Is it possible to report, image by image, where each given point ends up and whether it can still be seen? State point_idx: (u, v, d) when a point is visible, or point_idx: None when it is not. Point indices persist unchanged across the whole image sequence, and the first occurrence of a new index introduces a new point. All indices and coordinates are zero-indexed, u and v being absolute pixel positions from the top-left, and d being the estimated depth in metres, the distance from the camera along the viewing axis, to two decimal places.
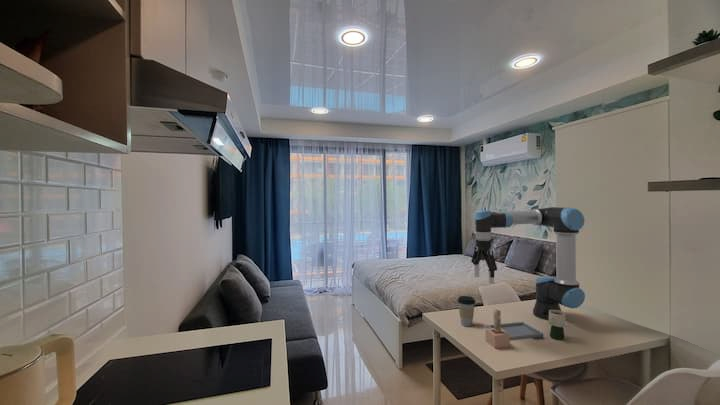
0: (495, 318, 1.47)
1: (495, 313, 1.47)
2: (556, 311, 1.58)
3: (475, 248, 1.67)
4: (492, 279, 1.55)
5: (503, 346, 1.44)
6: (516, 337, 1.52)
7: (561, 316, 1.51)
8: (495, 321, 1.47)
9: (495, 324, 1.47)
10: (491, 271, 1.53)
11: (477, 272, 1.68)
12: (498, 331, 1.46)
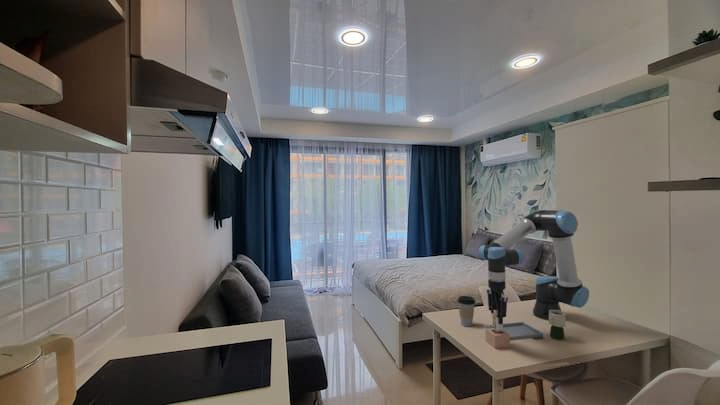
0: (495, 318, 1.47)
1: (495, 313, 1.47)
2: (556, 311, 1.58)
3: (488, 291, 1.53)
4: (500, 325, 1.46)
5: (503, 346, 1.44)
6: (516, 337, 1.52)
7: (561, 316, 1.51)
8: (495, 321, 1.47)
9: (495, 324, 1.47)
10: (499, 317, 1.45)
11: None
12: (498, 331, 1.46)
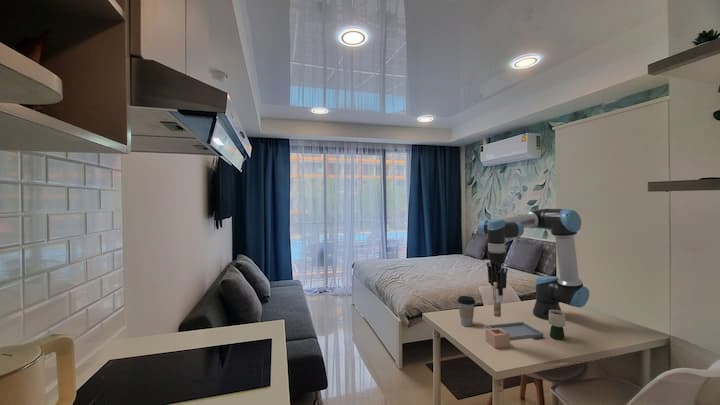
0: (495, 290, 1.47)
1: (495, 285, 1.47)
2: (556, 311, 1.58)
3: (487, 263, 1.52)
4: (500, 297, 1.46)
5: (503, 346, 1.44)
6: (516, 337, 1.52)
7: (561, 316, 1.51)
8: (495, 293, 1.47)
9: (495, 296, 1.47)
10: (499, 289, 1.44)
11: None
12: (498, 303, 1.46)
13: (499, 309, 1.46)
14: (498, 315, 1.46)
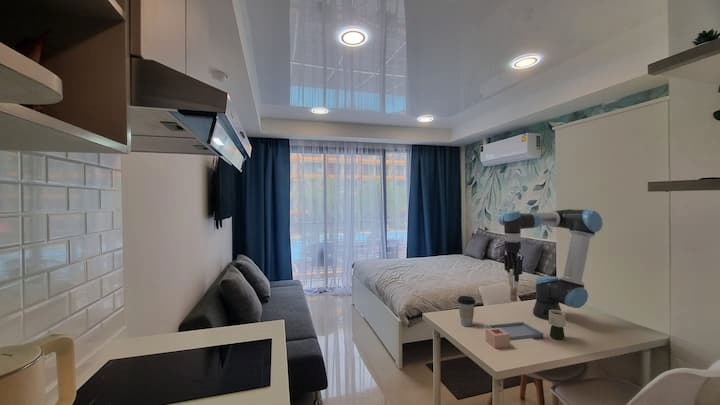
0: (511, 276, 1.59)
1: (511, 271, 1.59)
2: (556, 311, 1.58)
3: (504, 252, 1.64)
4: (516, 283, 1.58)
5: (503, 346, 1.44)
6: (516, 337, 1.52)
7: (561, 316, 1.51)
8: (511, 279, 1.59)
9: (511, 282, 1.59)
10: (516, 275, 1.56)
11: None
12: (514, 288, 1.58)
13: (515, 294, 1.58)
14: (514, 299, 1.58)
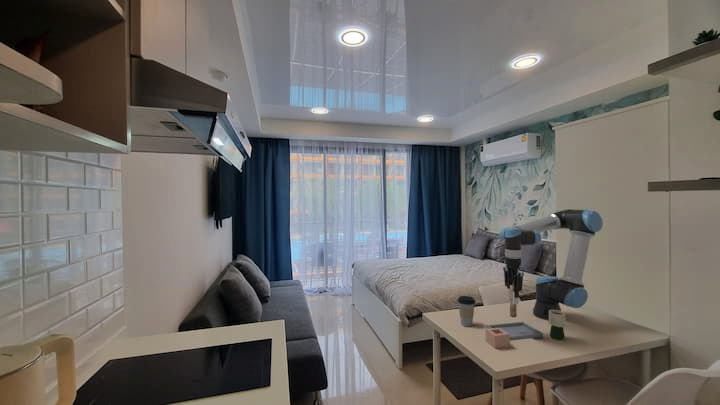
0: (511, 292, 1.59)
1: (511, 288, 1.59)
2: (556, 311, 1.58)
3: (504, 268, 1.65)
4: (516, 299, 1.58)
5: (503, 346, 1.44)
6: (516, 337, 1.52)
7: (561, 316, 1.51)
8: (511, 295, 1.59)
9: (511, 298, 1.59)
10: (516, 291, 1.57)
11: None
12: (514, 304, 1.59)
13: (515, 310, 1.59)
14: (514, 316, 1.59)
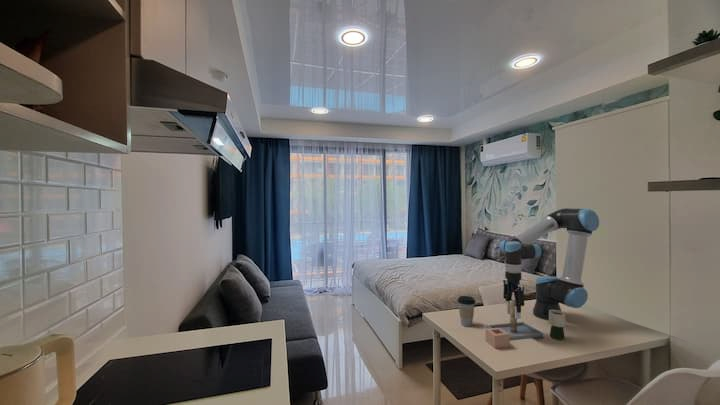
0: (511, 308, 1.60)
1: (511, 303, 1.60)
2: (556, 311, 1.58)
3: (504, 281, 1.65)
4: (519, 314, 1.57)
5: (503, 346, 1.44)
6: (516, 337, 1.52)
7: (561, 316, 1.51)
8: (511, 310, 1.60)
9: (511, 313, 1.60)
10: (518, 306, 1.56)
11: None
12: (514, 320, 1.59)
13: (515, 326, 1.59)
14: (514, 331, 1.59)
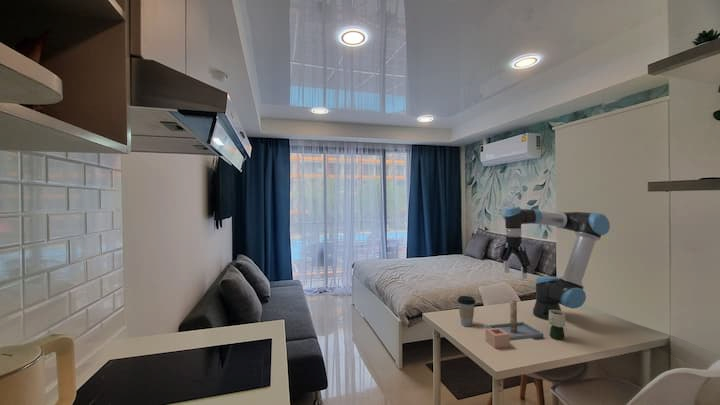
0: (512, 308, 1.60)
1: (512, 303, 1.59)
2: (556, 311, 1.58)
3: (504, 244, 1.69)
4: (525, 274, 1.57)
5: (503, 346, 1.44)
6: (516, 337, 1.52)
7: (561, 316, 1.51)
8: (512, 311, 1.60)
9: (512, 313, 1.60)
10: (524, 267, 1.56)
11: (507, 268, 1.70)
12: (514, 320, 1.59)
13: (515, 326, 1.59)
14: (514, 331, 1.59)
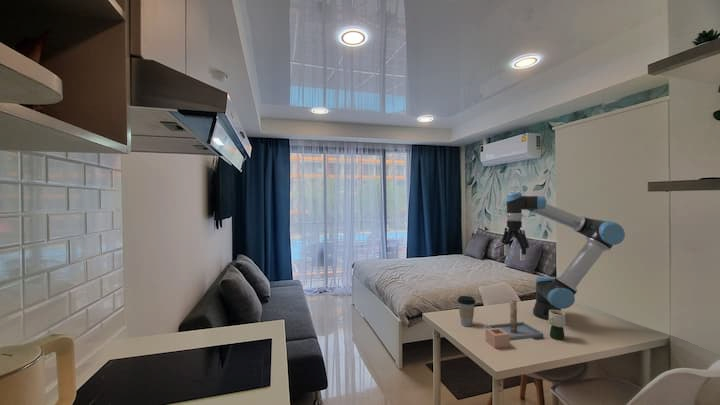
0: (512, 308, 1.60)
1: (512, 303, 1.59)
2: (556, 311, 1.58)
3: (505, 229, 1.79)
4: (524, 256, 1.67)
5: (503, 346, 1.44)
6: (516, 337, 1.52)
7: (561, 316, 1.51)
8: (512, 311, 1.60)
9: (512, 313, 1.60)
10: (523, 248, 1.66)
11: (507, 251, 1.80)
12: (514, 320, 1.59)
13: (515, 326, 1.59)
14: (514, 331, 1.59)
